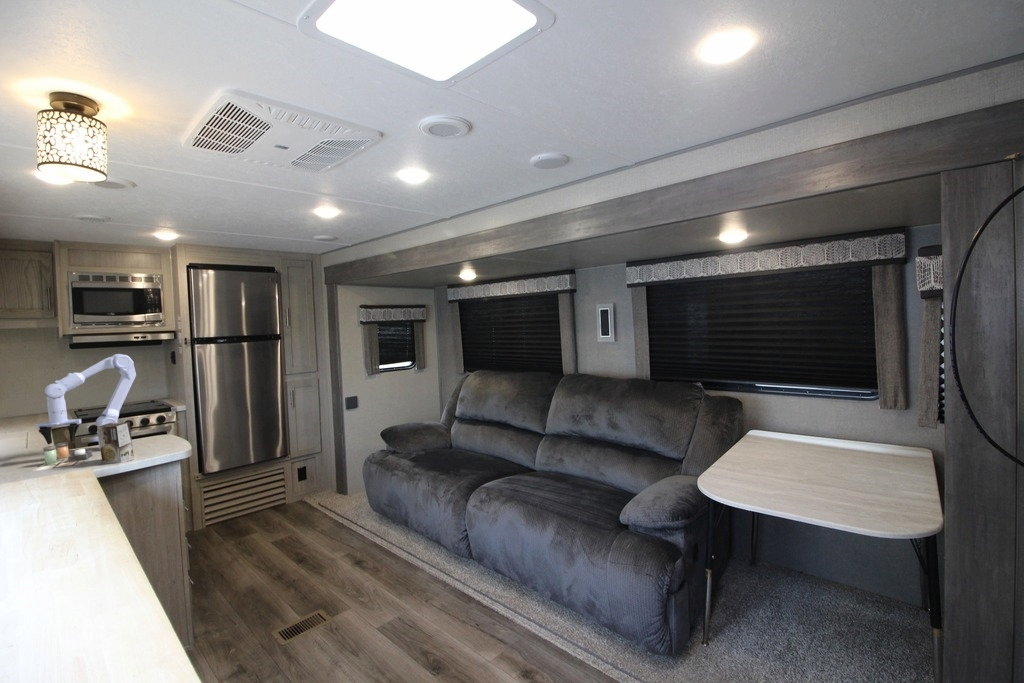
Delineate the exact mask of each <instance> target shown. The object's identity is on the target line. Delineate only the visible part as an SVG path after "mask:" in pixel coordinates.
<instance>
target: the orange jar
mask: <svg viewBox="0 0 1024 683" xmlns="http://www.w3.org/2000/svg"><path fill="white" fill-rule="evenodd" d="M68 445H69V444H68V442H65V441H64V442H59V443H56V444H55V447H56V456H57V460H65V459H68V457H69V456H70V453H69V446H68Z"/></svg>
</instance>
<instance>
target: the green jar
mask: <svg viewBox="0 0 1024 683" xmlns="http://www.w3.org/2000/svg"><path fill="white" fill-rule="evenodd" d="M42 449H43V450H42V451H43V456H44V457H43V458H44V463H45V465H51V464H55V463H57V461H58V456H57V449H56V445H48V446H44V447H42Z"/></svg>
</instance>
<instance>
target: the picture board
mask: <svg viewBox="0 0 1024 683" xmlns="http://www.w3.org/2000/svg"><path fill="white" fill-rule="evenodd" d="M92 457H93V450H85V454H82V455H75V452H73V453H72V454H71V455H70V454H69V457H68V458H66V459H57V463H55V464H51V465H45V462H42V463H41V464H39V465H38V466H37V467H36V468H33V470H31V472H37V471H42V470H43V471H44V470H49V469H56V468H57V469H58V468H65V467H74V466H78V465H80V464H82V463H83V462H85V461H87V460H88V459H90V458H92Z"/></svg>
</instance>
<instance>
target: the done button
mask: <svg viewBox="0 0 1024 683" xmlns="http://www.w3.org/2000/svg"><path fill="white" fill-rule="evenodd" d="M85 451H86V448H79V449H75V450H74V451H73V453H75V455H82V454H85Z"/></svg>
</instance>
